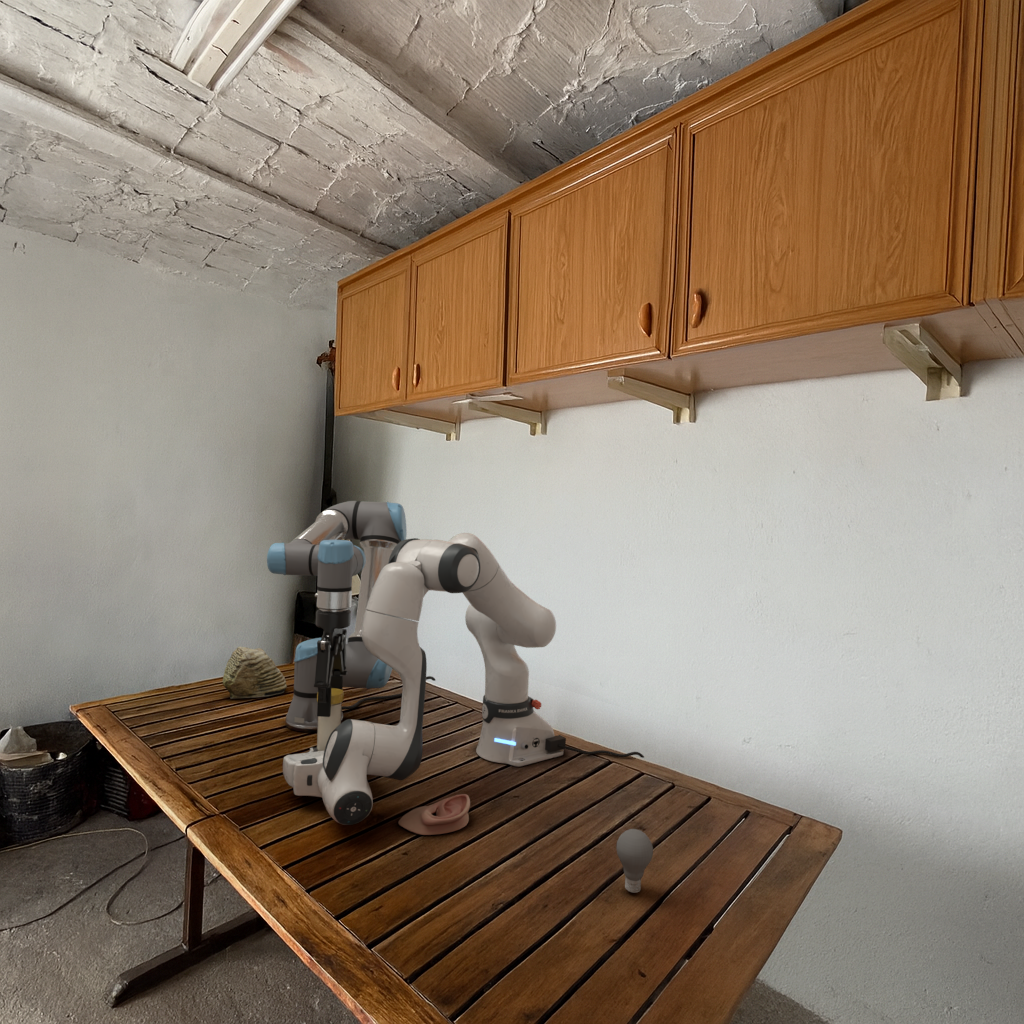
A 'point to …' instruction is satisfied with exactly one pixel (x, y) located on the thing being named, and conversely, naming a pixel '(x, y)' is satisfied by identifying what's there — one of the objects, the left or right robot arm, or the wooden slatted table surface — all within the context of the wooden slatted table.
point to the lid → (336, 696)
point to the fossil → (252, 674)
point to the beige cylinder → (328, 725)
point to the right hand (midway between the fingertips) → (327, 749)
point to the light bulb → (634, 857)
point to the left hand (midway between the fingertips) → (329, 709)
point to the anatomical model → (438, 816)
